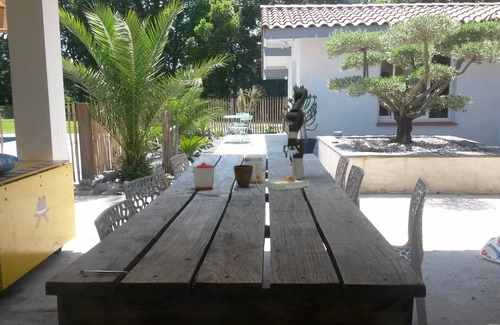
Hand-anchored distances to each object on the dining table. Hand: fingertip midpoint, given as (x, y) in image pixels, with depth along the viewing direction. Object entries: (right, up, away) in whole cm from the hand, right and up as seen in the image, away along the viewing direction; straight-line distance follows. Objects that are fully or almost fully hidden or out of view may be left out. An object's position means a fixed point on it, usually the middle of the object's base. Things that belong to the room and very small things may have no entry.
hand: (292, 157), depth 385 cm
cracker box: (-31, -20, +3) cm, 37 cm away
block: (-3, -18, -10) cm, 21 cm away
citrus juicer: (-69, -23, -23) cm, 76 cm away
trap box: (-5, -22, -17) cm, 28 cm away
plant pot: (-38, -23, -17) cm, 48 cm away
